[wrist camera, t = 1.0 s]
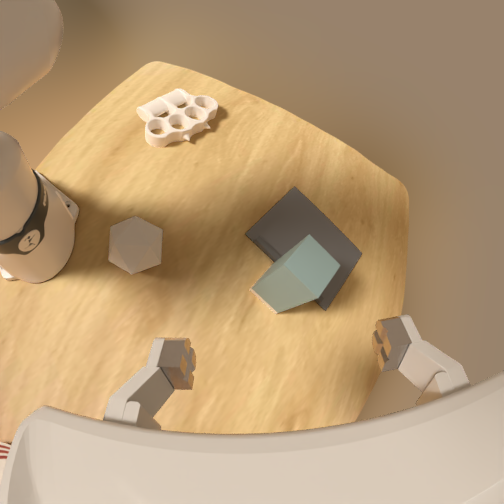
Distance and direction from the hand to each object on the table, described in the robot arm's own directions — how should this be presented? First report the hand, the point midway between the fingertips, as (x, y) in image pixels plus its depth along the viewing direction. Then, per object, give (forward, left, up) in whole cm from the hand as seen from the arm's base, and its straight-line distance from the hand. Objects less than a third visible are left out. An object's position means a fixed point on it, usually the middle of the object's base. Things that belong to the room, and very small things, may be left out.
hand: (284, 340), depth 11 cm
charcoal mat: (+3, +28, -33) cm, 43 cm away
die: (-17, +4, -33) cm, 37 cm away
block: (+3, +16, -33) cm, 36 cm away
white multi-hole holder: (-35, +29, -33) cm, 56 cm away
